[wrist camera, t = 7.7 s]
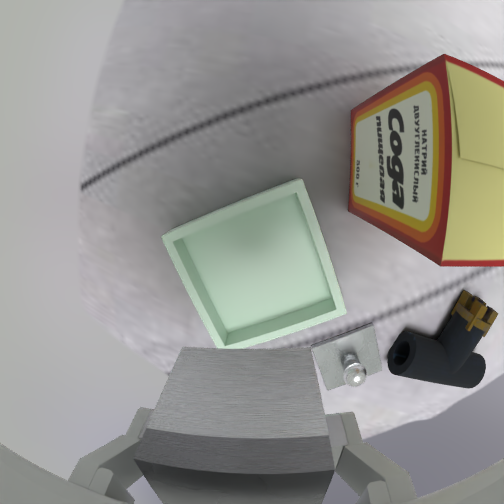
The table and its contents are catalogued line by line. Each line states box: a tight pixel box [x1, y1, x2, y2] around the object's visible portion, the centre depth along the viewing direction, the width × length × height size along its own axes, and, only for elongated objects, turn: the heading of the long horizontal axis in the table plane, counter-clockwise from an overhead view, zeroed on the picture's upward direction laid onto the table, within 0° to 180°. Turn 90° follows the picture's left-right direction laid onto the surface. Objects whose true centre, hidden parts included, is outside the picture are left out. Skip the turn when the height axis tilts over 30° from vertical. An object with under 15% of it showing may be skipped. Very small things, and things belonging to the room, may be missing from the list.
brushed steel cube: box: [133, 347, 335, 504], centre depth 9 cm, size 5×5×6 cm
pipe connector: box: [388, 290, 498, 388], centre depth 27 cm, size 12×5×15 cm
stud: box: [311, 323, 382, 390], centre depth 28 cm, size 7×7×4 cm
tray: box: [161, 178, 347, 349], centre depth 26 cm, size 13×13×3 cm
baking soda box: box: [348, 54, 504, 266], centre depth 16 cm, size 10×6×16 cm
